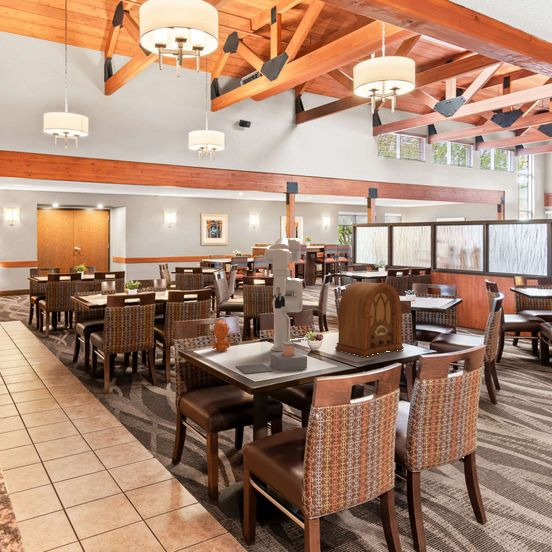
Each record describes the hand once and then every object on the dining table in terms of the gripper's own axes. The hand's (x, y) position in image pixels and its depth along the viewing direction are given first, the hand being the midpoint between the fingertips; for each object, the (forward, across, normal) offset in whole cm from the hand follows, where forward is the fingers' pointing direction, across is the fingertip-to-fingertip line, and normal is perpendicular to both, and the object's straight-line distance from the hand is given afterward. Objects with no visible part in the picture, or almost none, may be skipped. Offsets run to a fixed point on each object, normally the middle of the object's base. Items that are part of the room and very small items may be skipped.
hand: (279, 307), depth 241 cm
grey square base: (+30, 0, +5) cm, 30 cm away
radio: (+28, -47, +44) cm, 70 cm away
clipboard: (+28, -71, -10) cm, 77 cm away
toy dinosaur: (+29, -28, -40) cm, 56 cm away
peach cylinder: (+28, +1, +5) cm, 28 cm away
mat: (+30, +10, -11) cm, 33 cm away
